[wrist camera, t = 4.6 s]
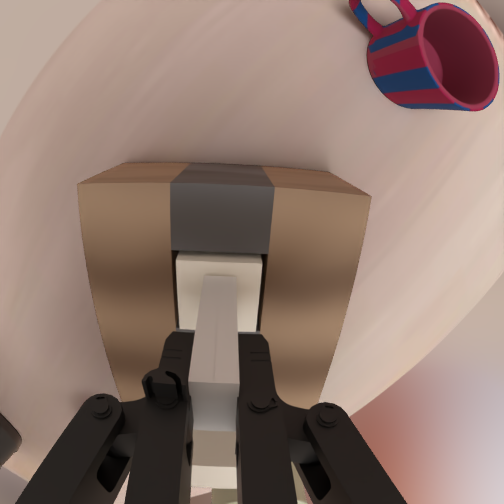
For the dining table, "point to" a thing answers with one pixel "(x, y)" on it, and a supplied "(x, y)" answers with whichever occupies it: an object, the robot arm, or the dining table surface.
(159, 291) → the socket block
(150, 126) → the dining table surface
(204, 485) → the peg
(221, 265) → the peg
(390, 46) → the mug
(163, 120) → the dining table surface
